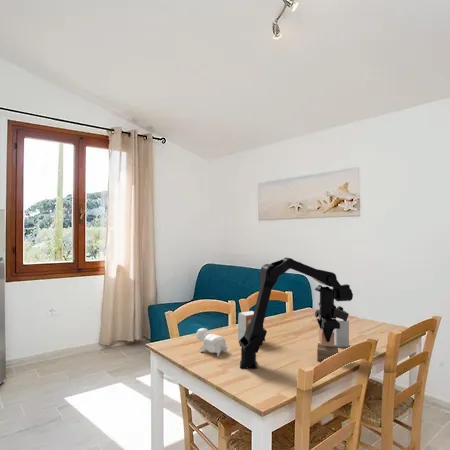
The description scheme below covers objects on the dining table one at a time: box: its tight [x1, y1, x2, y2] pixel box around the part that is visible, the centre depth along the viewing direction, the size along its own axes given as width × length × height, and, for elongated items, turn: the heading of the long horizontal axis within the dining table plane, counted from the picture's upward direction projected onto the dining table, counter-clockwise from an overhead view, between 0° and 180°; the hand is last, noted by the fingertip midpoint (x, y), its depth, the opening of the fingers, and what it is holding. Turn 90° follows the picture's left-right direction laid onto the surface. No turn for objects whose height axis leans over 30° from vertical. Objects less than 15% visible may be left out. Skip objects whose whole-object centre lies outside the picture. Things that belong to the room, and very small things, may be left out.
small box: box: [237, 310, 254, 341], centre depth 160 cm, size 8×6×13 cm
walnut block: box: [316, 342, 339, 363], centre depth 138 cm, size 8×8×5 cm
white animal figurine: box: [196, 327, 229, 357], centre depth 147 cm, size 9×8×15 cm
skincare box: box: [333, 317, 350, 348], centre depth 154 cm, size 6×4×12 cm
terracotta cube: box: [318, 328, 334, 345], centre depth 139 cm, size 5×5×5 cm
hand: (326, 339), depth 139 cm, fingers closed on terracotta cube, 5 cm apart
